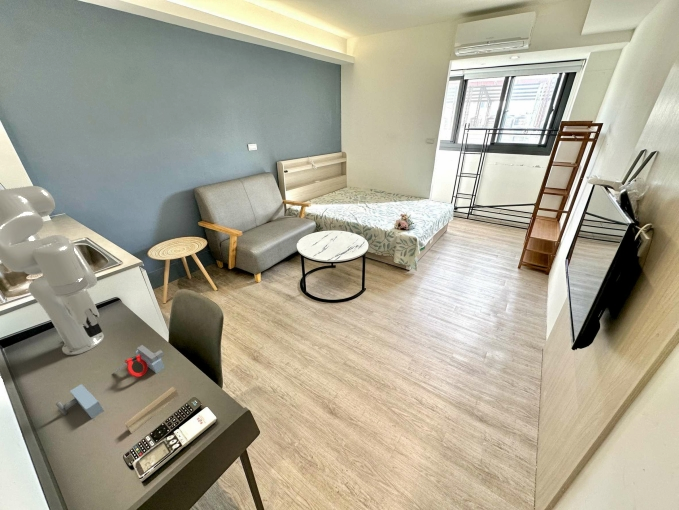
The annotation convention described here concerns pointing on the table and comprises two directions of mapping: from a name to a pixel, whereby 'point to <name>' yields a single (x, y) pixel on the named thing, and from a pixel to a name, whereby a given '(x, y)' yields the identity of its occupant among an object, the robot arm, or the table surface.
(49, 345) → the table surface
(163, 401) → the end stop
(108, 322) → the table surface
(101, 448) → the table surface
